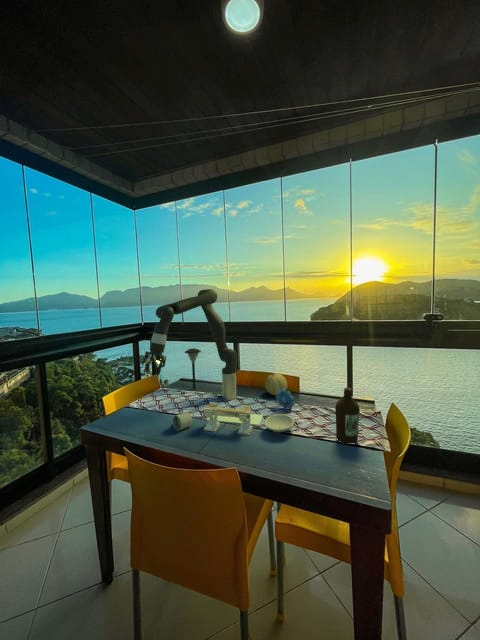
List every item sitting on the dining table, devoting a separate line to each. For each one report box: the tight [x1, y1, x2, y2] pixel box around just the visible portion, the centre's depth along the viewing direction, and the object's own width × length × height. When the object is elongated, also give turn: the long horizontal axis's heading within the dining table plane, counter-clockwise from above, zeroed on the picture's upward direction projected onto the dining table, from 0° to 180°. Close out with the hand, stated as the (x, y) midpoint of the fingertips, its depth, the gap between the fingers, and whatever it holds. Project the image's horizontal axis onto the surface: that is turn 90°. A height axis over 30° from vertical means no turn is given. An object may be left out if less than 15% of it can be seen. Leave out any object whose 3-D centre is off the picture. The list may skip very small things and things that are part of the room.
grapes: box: [275, 389, 295, 410], centre depth 169 cm, size 12×7×12 cm, turn 60°
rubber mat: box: [205, 413, 264, 426], centre depth 158 cm, size 12×30×1 cm, turn 75°
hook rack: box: [203, 401, 254, 436], centre depth 146 cm, size 8×24×12 cm, turn 75°
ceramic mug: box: [172, 412, 193, 431], centre depth 150 cm, size 11×8×8 cm
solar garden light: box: [184, 347, 202, 391], centre depth 205 cm, size 12×12×30 cm
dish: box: [263, 413, 295, 433], centre depth 143 cm, size 18×14×5 cm
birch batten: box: [203, 406, 252, 419], centre depth 144 cm, size 3×24×3 cm, turn 75°
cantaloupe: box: [265, 372, 288, 396], centre depth 193 cm, size 15×15×15 cm
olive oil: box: [334, 387, 361, 444], centre depth 132 cm, size 11×11×25 cm
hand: (151, 373), depth 148 cm, fingers open, 8 cm apart
